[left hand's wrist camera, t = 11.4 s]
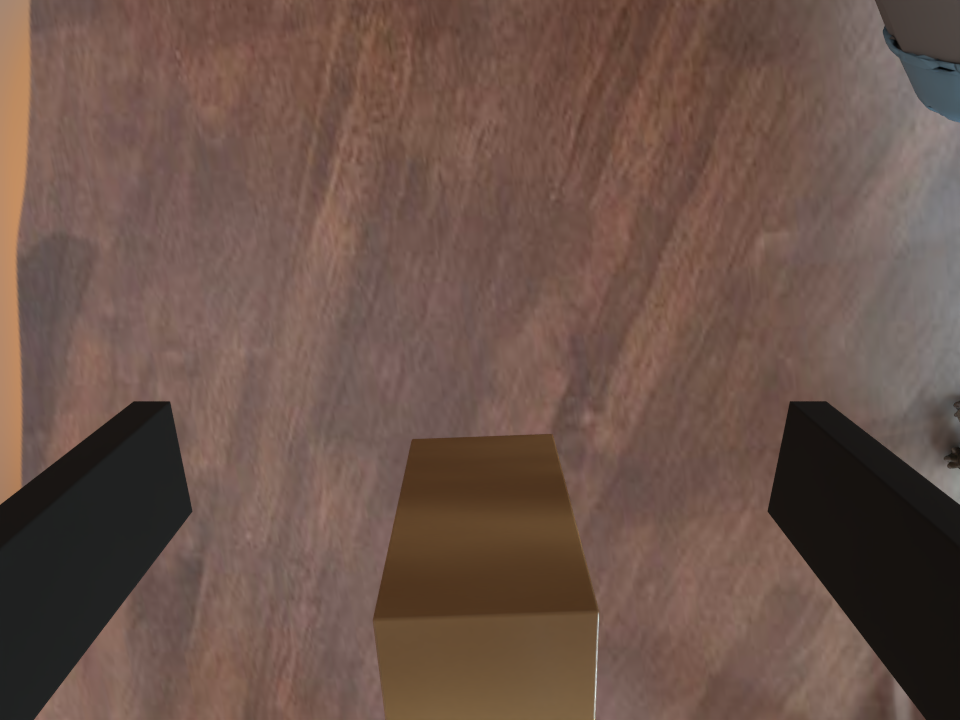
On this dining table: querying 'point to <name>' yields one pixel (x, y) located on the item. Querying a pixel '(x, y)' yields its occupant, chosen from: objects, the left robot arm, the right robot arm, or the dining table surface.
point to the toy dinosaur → (956, 458)
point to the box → (486, 587)
